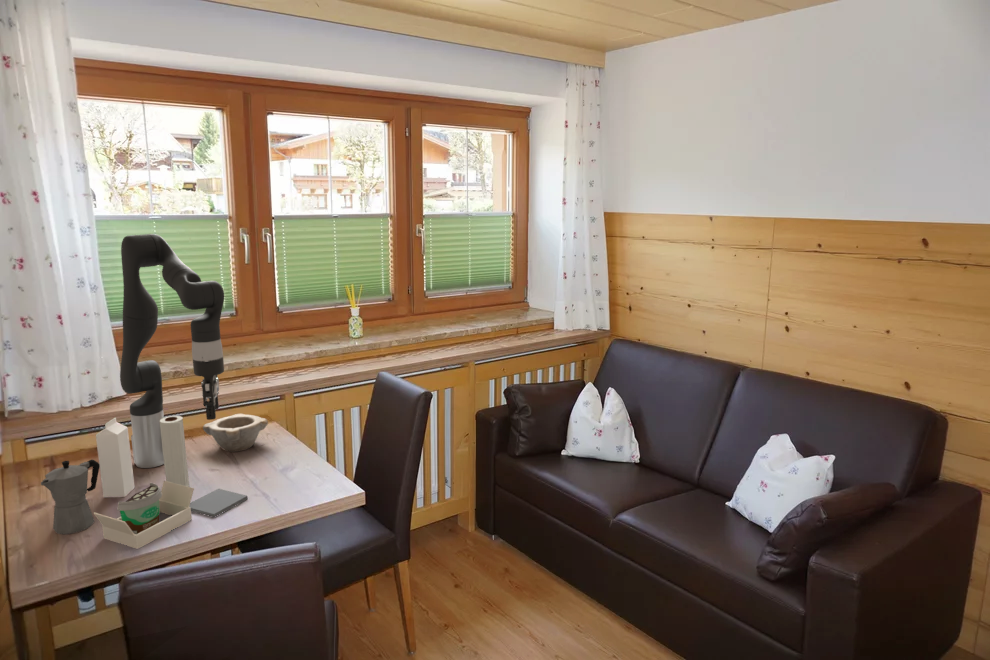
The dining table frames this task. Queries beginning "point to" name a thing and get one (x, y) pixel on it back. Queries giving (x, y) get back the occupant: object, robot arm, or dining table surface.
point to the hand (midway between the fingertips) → (212, 414)
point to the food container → (141, 509)
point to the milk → (115, 460)
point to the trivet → (216, 502)
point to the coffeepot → (71, 496)
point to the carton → (170, 503)
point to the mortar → (236, 431)
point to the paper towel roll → (174, 450)
